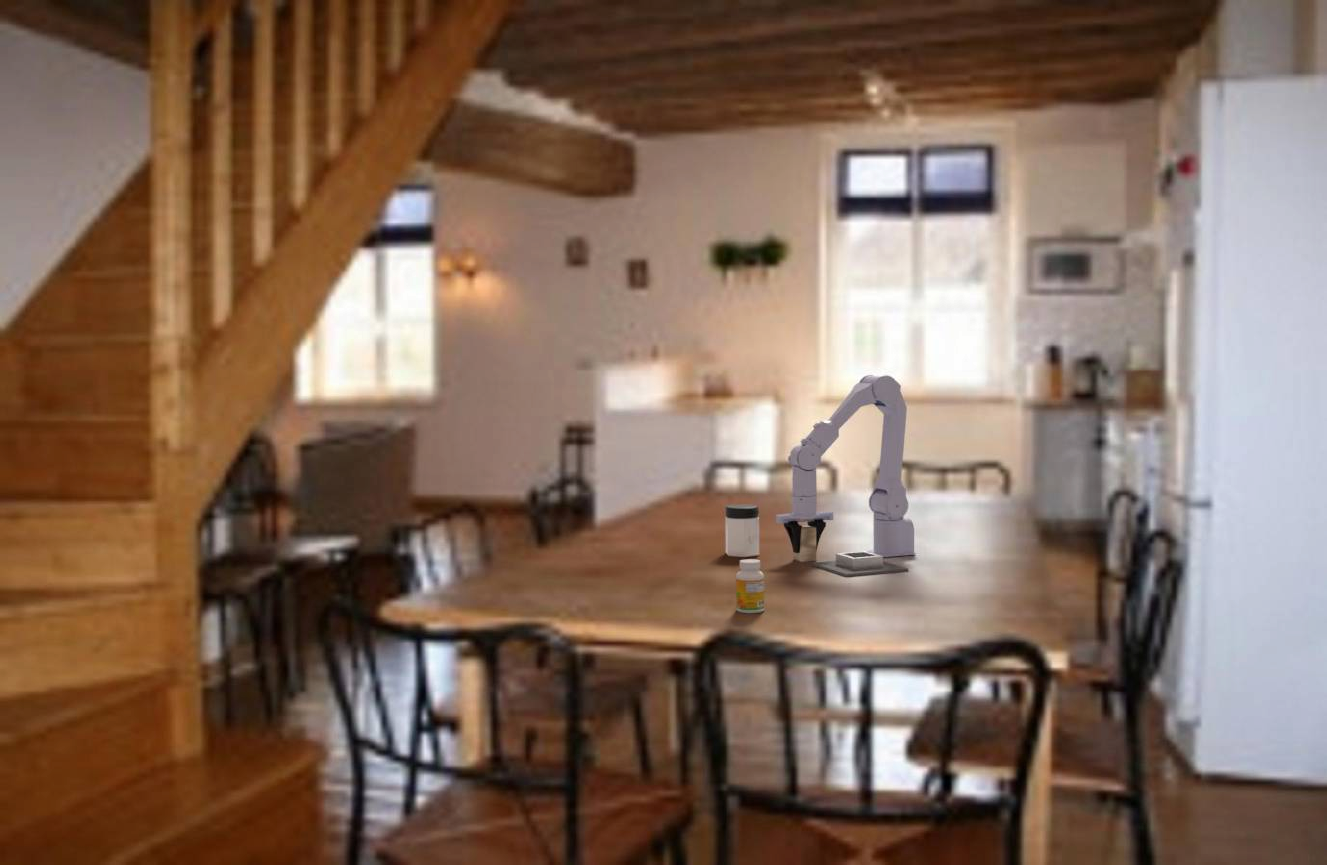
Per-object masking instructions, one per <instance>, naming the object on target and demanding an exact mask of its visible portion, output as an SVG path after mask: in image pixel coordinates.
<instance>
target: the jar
mask: <svg viewBox="0 0 1327 865" xmlns="http://www.w3.org/2000/svg"><path fill="white" fill-rule="evenodd" d="M759 511H760V510H759V506H758V505H755V504H746V503H745V504H729V505H726V506H725V521H724V522H725V554H726V555H727V556H728V557H737V558H748V557H749V558H750V557H755V556H756V557H757V556H760V517H759V513H760V512H759Z"/></svg>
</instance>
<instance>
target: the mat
mask: <svg viewBox="0 0 1327 865" xmlns="http://www.w3.org/2000/svg"><path fill="white" fill-rule="evenodd" d="M811 566H813V567H815V568H819V569H822V570H825V571H827V572H831V573H834V574H837V575H840V576H843V577H845V578H847V577H848V578H850V577H860V576H871V575H881V574H882V575H883V574H890V573H891V574H892V573H904V572H909V568H908V567H904V566H901V565H897V564H893V563H891V562H888V561H884V560H883V567H878V568H867V569H856V570H852V569H849V568H846V567H843V566H840V565H837V564H836V560H828V561H827V560H825V561H817V562H816V561H814V562H811Z"/></svg>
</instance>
